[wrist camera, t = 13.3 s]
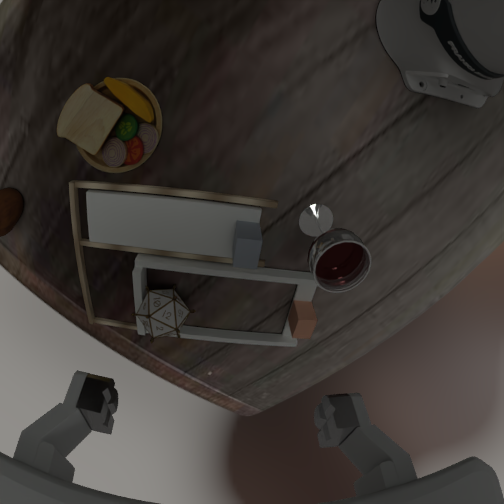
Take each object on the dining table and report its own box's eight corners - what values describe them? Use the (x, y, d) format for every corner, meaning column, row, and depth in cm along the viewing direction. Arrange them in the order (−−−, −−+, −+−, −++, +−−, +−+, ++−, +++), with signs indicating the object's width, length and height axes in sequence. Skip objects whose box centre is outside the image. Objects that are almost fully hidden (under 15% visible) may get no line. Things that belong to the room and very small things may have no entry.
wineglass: (344, 230, 42) (377, 277, 32) (302, 249, 43) (323, 302, 33) (330, 190, 39) (364, 229, 29) (284, 210, 40) (303, 256, 30)
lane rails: (277, 200, 39) (278, 204, 38) (246, 339, 52) (247, 344, 51) (72, 180, 36) (69, 182, 35) (91, 319, 48) (89, 323, 47)
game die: (170, 292, 51) (148, 344, 46) (139, 267, 44) (113, 325, 40) (212, 299, 46) (189, 359, 42) (182, 273, 40) (153, 341, 35)
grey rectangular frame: (319, 273, 46) (328, 293, 41) (296, 338, 53) (301, 359, 48) (138, 253, 42) (129, 272, 38) (142, 324, 49) (136, 344, 45)
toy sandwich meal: (122, 188, 37) (110, 201, 33) (57, 128, 32) (39, 134, 28) (184, 120, 34) (178, 124, 30) (113, 55, 28) (97, 51, 24)
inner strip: (261, 207, 40) (265, 227, 34) (251, 256, 43) (254, 281, 38) (89, 189, 36) (69, 206, 31) (92, 238, 40) (75, 259, 35)
